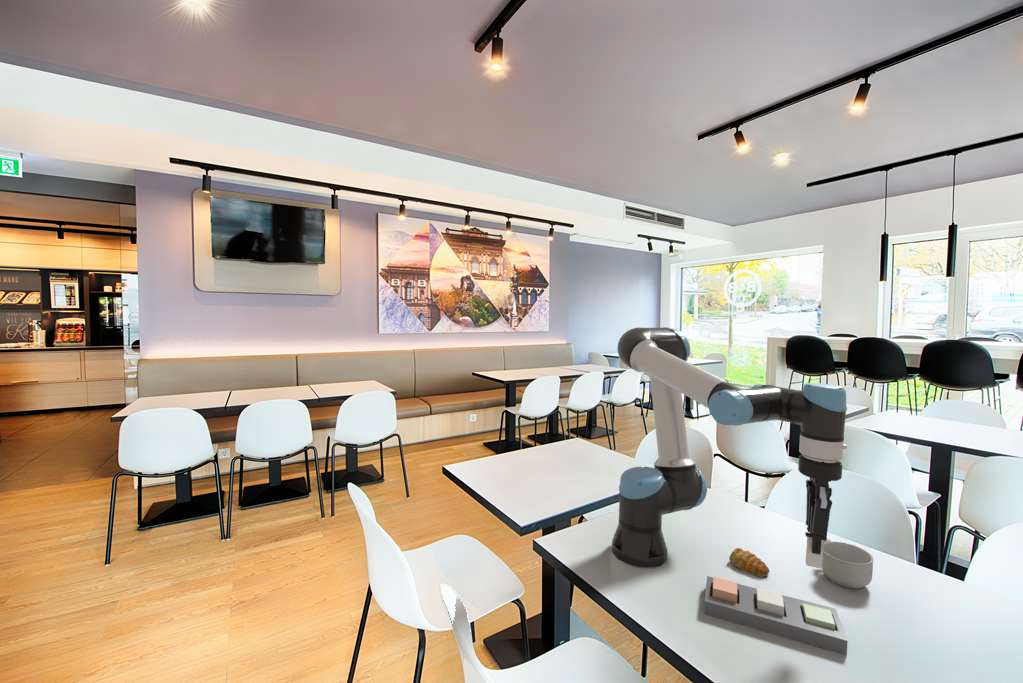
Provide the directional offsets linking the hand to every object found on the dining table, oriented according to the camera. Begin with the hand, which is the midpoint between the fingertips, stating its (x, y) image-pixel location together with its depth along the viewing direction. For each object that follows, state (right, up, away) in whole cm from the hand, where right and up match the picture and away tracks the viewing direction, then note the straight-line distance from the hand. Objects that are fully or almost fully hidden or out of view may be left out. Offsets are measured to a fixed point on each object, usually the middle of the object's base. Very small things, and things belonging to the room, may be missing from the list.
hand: (813, 565), depth 94 cm
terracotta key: (-15, -11, +8) cm, 20 cm away
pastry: (-1, -13, +25) cm, 28 cm away
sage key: (+1, -13, 0) cm, 13 cm away
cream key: (-7, -12, +4) cm, 14 cm away
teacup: (+21, -14, +20) cm, 32 cm away
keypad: (-7, -14, +4) cm, 16 cm away
